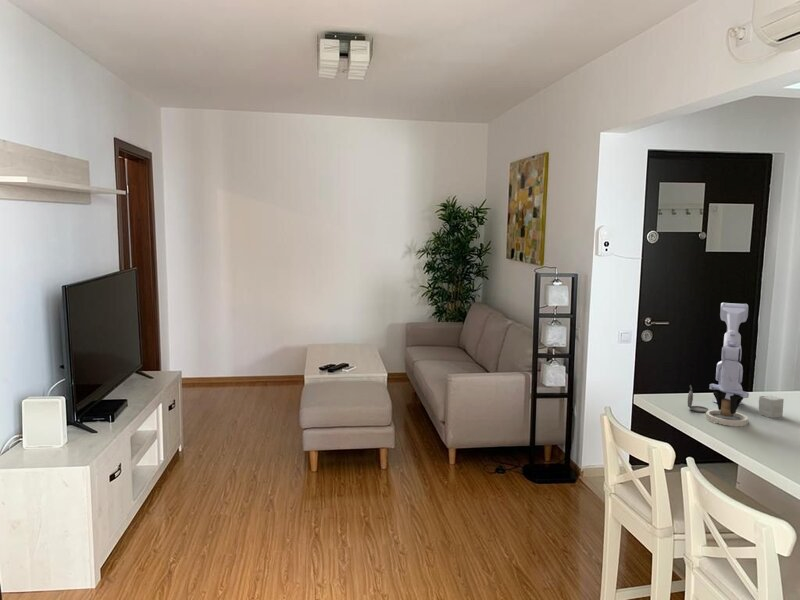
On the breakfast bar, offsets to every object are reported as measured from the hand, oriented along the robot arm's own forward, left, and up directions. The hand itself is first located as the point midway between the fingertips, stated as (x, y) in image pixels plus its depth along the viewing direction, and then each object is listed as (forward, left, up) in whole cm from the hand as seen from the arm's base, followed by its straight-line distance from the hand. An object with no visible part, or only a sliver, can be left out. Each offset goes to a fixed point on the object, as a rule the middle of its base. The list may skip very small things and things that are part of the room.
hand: (726, 411), depth 227 cm
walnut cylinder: (0, 0, -1) cm, 1 cm away
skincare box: (-22, +4, -4) cm, 23 cm away
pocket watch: (-2, -14, -4) cm, 15 cm away
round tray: (0, 0, -3) cm, 3 cm away
